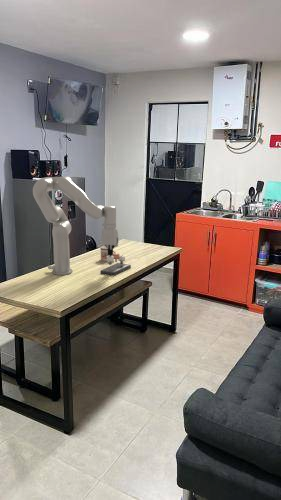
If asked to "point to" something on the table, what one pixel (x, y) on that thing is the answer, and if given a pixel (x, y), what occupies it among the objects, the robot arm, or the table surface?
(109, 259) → the knob near
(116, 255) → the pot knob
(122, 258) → the knob far
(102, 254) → the teacup with lid
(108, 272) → the mount plate
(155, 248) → the table surface
